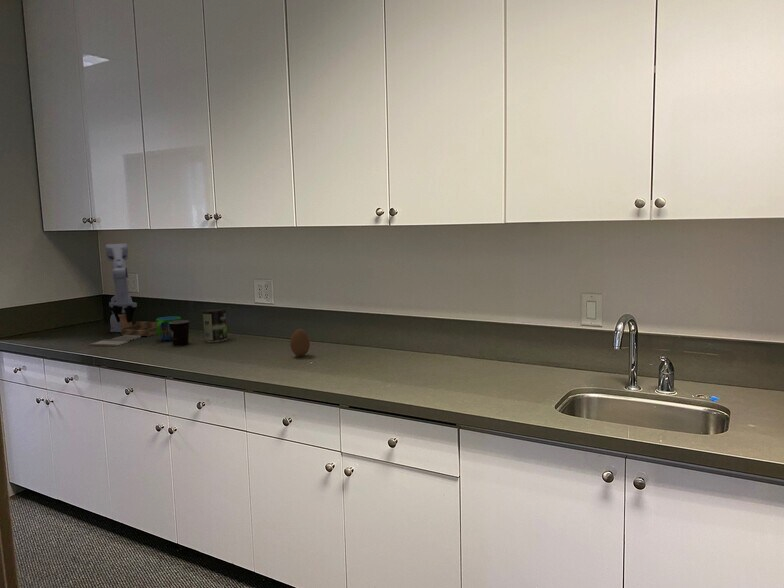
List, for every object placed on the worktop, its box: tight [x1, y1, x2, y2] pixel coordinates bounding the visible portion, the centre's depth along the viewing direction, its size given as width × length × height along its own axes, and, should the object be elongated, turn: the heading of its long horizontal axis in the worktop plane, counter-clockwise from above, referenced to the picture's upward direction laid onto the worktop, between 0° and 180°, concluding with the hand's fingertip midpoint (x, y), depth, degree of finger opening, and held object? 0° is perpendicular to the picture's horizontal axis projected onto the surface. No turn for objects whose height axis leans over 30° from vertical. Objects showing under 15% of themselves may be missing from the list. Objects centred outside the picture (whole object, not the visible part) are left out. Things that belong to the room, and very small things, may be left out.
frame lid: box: [88, 339, 130, 347], centre depth 279 cm, size 14×9×1 cm, turn 75°
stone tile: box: [110, 335, 142, 342], centre depth 288 cm, size 9×9×1 cm
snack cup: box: [155, 315, 182, 342], centre depth 284 cm, size 16×10×10 cm
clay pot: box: [118, 312, 133, 327], centre depth 288 cm, size 6×6×6 cm
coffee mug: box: [169, 319, 190, 346], centre depth 271 cm, size 12×9×10 cm
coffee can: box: [201, 307, 228, 343], centre depth 279 cm, size 10×10×14 cm
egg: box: [289, 328, 311, 357], centre depth 242 cm, size 8×8×11 cm
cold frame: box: [120, 320, 157, 338], centre depth 300 cm, size 16×11×5 cm
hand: (124, 321), depth 287 cm, fingers closed on clay pot, 5 cm apart
